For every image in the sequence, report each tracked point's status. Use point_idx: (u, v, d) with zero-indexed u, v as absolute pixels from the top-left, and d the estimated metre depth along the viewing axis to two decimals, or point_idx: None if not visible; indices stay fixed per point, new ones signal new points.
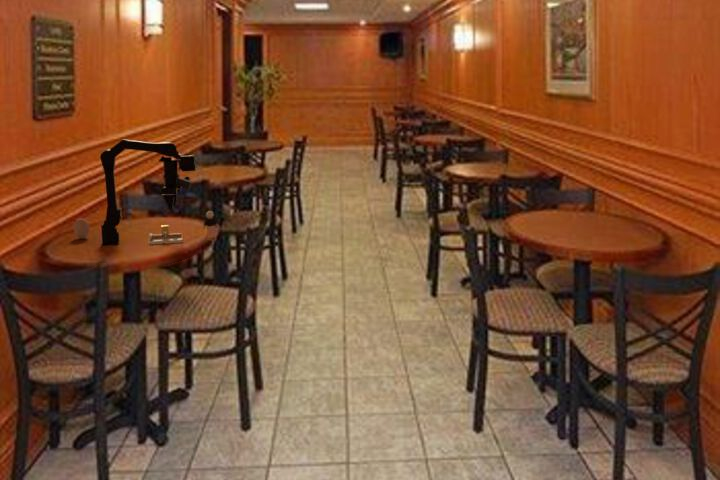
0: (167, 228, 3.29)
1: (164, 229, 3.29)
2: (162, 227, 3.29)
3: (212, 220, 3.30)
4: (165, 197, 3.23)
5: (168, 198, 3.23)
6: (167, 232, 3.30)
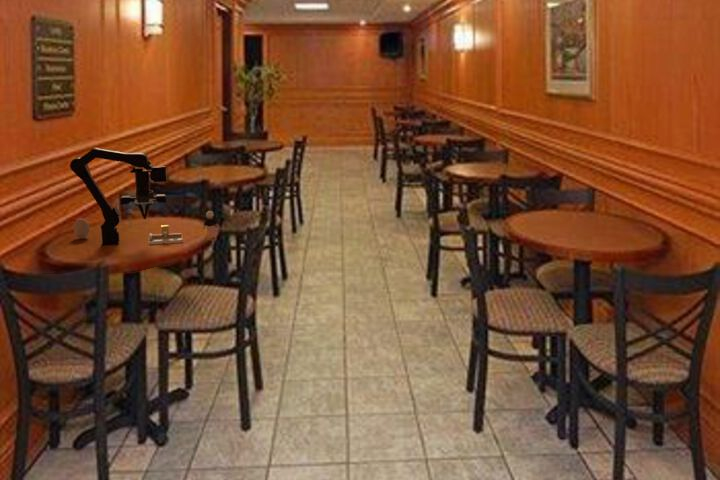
0: (167, 228, 3.29)
1: (164, 229, 3.29)
2: (162, 227, 3.29)
3: (212, 220, 3.30)
4: None
5: None
6: (167, 232, 3.30)
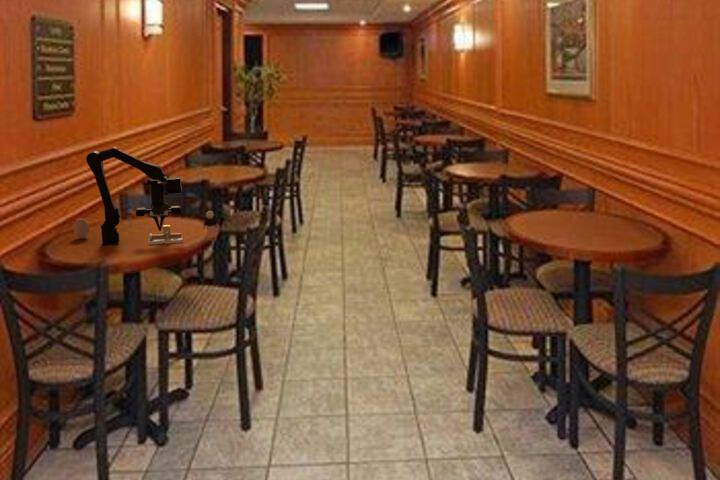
0: (169, 228, 3.29)
1: (166, 229, 3.29)
2: (164, 227, 3.29)
3: (212, 220, 3.30)
4: None
5: None
6: (169, 232, 3.30)
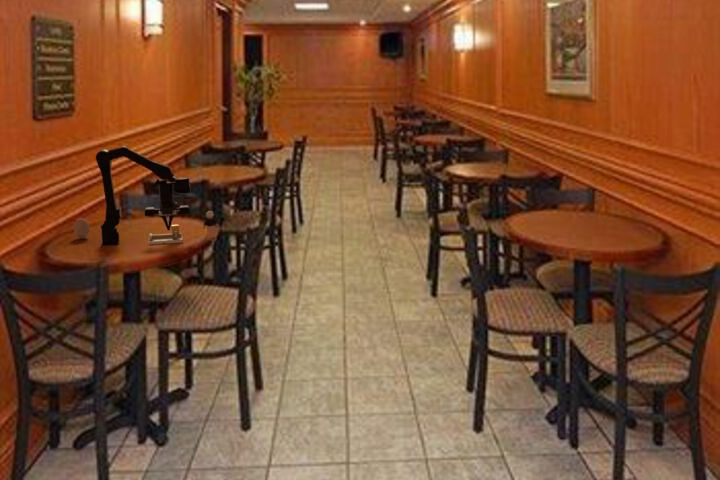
0: (177, 227, 3.30)
1: (174, 228, 3.30)
2: (172, 226, 3.30)
3: (212, 220, 3.30)
4: None
5: None
6: (177, 231, 3.31)
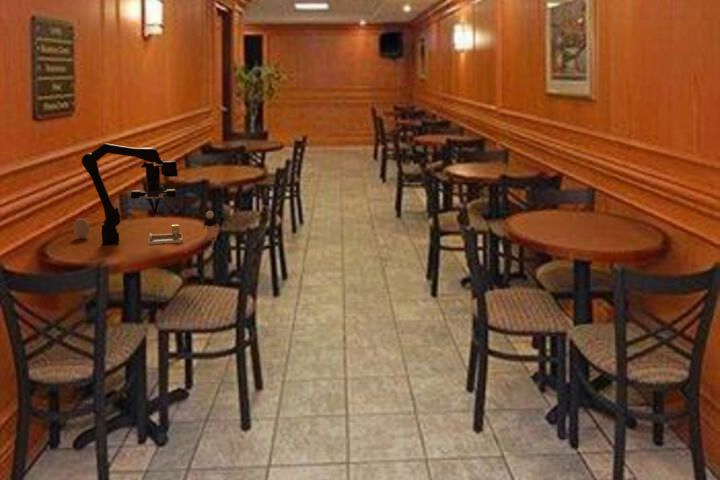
0: (177, 227, 3.30)
1: (174, 228, 3.30)
2: (172, 226, 3.30)
3: (212, 220, 3.30)
4: None
5: None
6: (177, 231, 3.31)
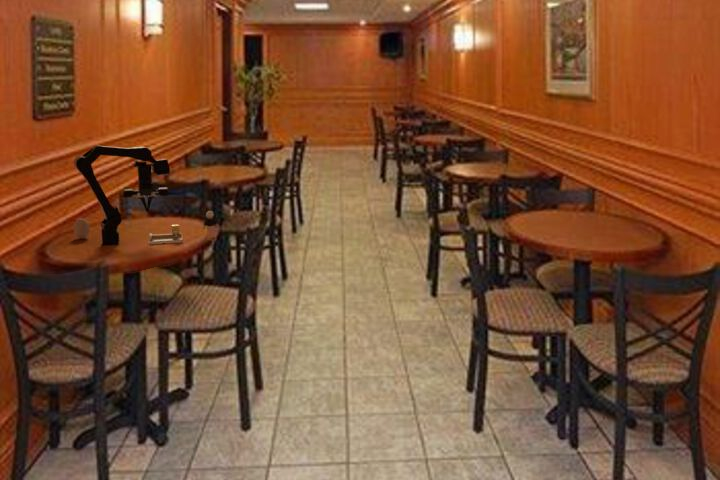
0: (177, 227, 3.30)
1: (174, 228, 3.30)
2: (172, 226, 3.30)
3: (212, 220, 3.30)
4: None
5: None
6: (177, 231, 3.31)
